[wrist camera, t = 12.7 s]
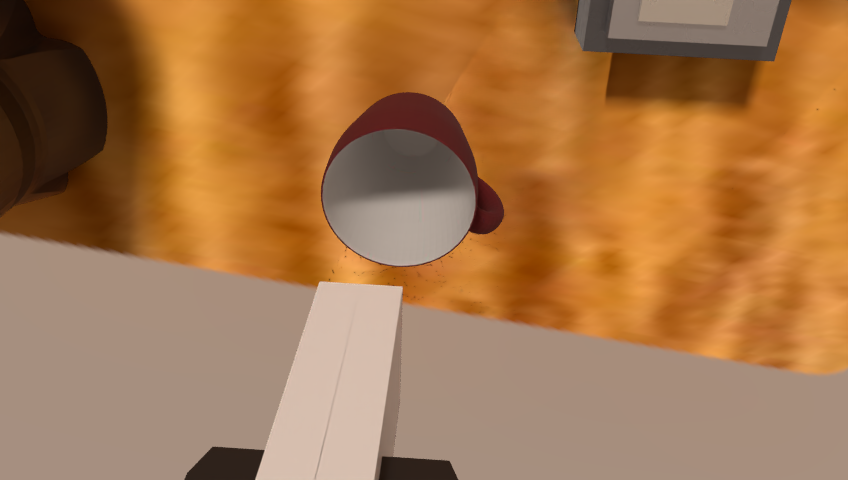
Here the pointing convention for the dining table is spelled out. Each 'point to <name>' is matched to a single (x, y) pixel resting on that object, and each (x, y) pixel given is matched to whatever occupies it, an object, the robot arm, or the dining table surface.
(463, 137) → the mug
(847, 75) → the dining table surface
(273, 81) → the dining table surface
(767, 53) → the grey stepped machine part
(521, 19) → the dining table surface
